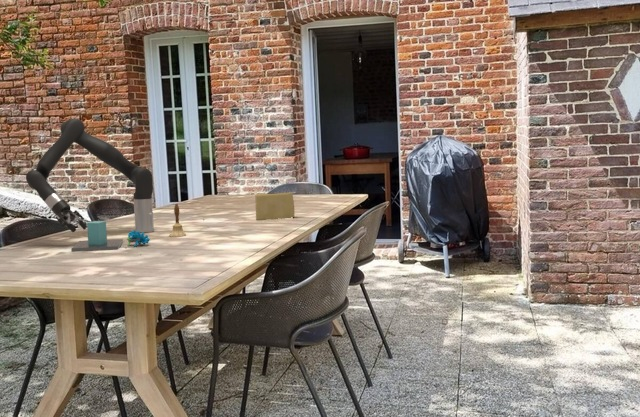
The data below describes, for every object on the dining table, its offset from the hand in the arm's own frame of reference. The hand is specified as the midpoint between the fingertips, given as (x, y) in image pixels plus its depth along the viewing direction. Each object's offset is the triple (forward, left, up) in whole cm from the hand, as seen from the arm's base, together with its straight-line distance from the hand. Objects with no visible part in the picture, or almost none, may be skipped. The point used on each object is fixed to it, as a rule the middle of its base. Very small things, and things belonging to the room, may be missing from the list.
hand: (80, 229), depth 325 cm
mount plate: (-8, +4, -8) cm, 12 cm away
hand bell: (-43, -19, -8) cm, 48 cm away
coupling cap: (-8, +4, -6) cm, 11 cm away
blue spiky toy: (-26, +5, -8) cm, 28 cm away
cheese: (-96, -66, -8) cm, 117 cm away
